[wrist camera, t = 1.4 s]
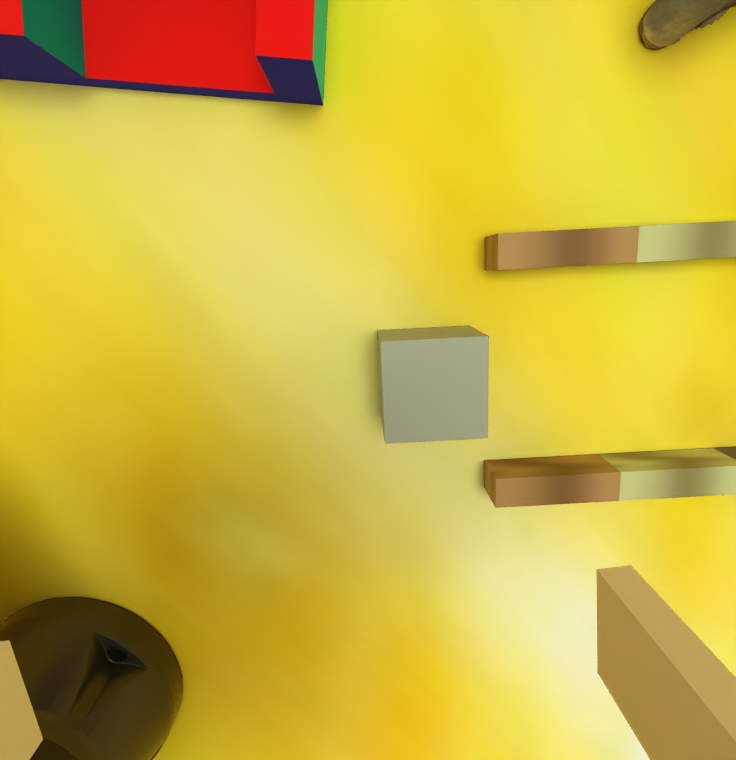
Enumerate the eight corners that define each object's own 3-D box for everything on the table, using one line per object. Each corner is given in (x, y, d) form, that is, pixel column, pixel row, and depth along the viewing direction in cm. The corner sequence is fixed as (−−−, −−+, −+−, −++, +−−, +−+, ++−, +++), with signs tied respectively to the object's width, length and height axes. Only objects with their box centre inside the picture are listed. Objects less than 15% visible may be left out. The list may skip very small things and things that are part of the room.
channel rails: (484, 486, 34) (495, 507, 31) (484, 237, 30) (498, 233, 27) (709, 474, 34) (742, 493, 31) (739, 223, 30) (780, 218, 27)
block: (381, 417, 33) (384, 443, 28) (377, 330, 31) (380, 341, 26) (468, 412, 33) (487, 438, 28) (468, 325, 31) (488, 335, 26)
